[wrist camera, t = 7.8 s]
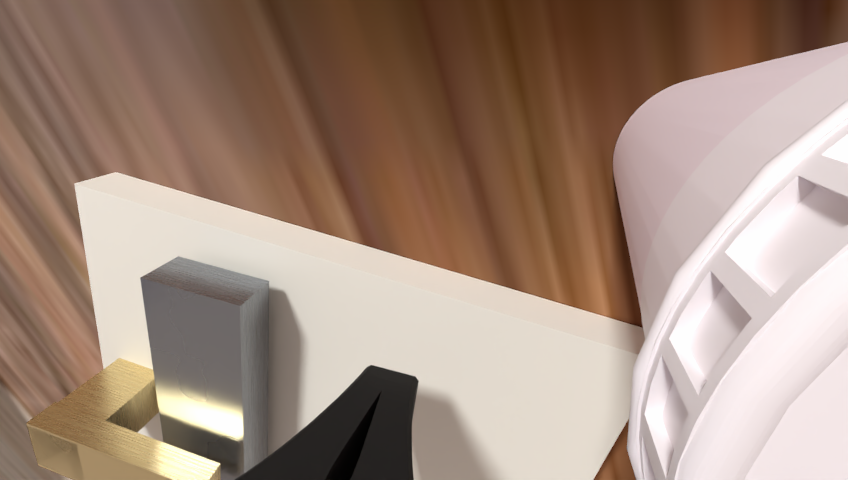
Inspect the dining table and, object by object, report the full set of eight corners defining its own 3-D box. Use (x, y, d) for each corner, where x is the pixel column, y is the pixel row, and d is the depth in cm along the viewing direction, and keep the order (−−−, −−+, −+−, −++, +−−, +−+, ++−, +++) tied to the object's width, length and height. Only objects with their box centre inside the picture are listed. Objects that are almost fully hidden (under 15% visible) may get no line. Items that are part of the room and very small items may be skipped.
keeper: (124, 394, 17) (38, 465, 14) (118, 355, 16) (26, 423, 13) (261, 444, 16) (201, 530, 13) (263, 406, 15) (200, 489, 12)
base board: (150, 473, 21) (121, 505, 20) (116, 172, 15) (68, 185, 13) (497, 606, 19) (494, 654, 18) (647, 329, 12) (664, 366, 11)
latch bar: (266, 535, 18) (239, 586, 16) (202, 512, 18) (168, 559, 16) (269, 281, 12) (227, 316, 11) (178, 256, 13) (124, 286, 11)
